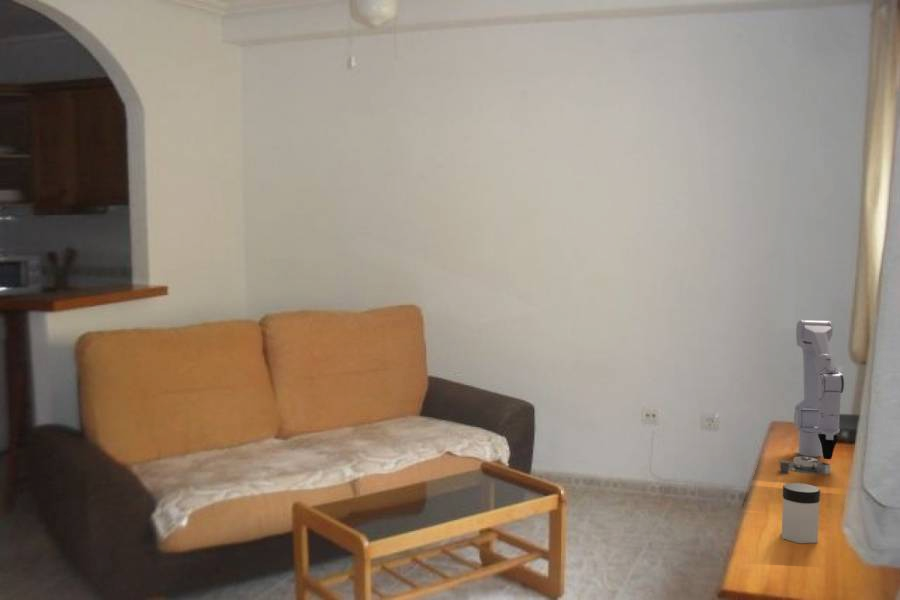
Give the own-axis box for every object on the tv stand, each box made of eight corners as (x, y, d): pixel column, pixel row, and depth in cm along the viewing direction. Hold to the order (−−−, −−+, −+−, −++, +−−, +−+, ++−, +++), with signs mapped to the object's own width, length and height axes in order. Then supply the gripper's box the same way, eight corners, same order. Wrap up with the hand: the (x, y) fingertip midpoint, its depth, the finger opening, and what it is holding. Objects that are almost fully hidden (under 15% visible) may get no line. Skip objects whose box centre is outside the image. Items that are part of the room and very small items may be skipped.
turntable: (803, 463, 283) (803, 451, 282) (842, 474, 270) (843, 462, 270) (772, 467, 277) (773, 455, 276) (811, 479, 264) (812, 467, 264)
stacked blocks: (779, 474, 271) (780, 460, 270) (788, 475, 270) (789, 461, 270) (779, 477, 268) (780, 462, 268) (788, 478, 267) (789, 463, 267)
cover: (804, 464, 278) (805, 453, 278) (823, 469, 272) (823, 458, 272) (788, 466, 275) (788, 455, 275) (806, 471, 269) (806, 461, 269)
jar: (826, 539, 213) (828, 488, 212) (808, 546, 208) (810, 494, 207) (791, 529, 220) (793, 480, 219) (772, 536, 215) (774, 486, 214)
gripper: (813, 408, 280) (811, 451, 281) (815, 417, 266) (813, 463, 267) (838, 410, 277) (836, 453, 278) (842, 419, 264) (839, 465, 265)
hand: (827, 458), depth 273 cm, fingers closed
